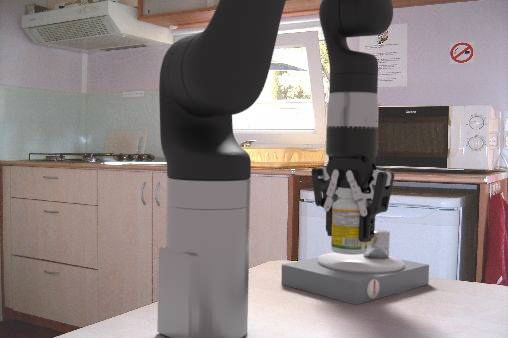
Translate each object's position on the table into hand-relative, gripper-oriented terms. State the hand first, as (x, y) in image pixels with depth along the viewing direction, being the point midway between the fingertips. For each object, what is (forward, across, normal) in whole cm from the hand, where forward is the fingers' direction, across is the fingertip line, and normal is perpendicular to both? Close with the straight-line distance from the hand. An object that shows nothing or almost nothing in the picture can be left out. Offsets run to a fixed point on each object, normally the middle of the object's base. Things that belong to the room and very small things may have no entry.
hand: (349, 238), depth 86 cm
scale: (+7, 0, -2) cm, 8 cm away
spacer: (+4, 0, -7) cm, 8 cm away
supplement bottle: (+2, 0, 0) cm, 2 cm away
